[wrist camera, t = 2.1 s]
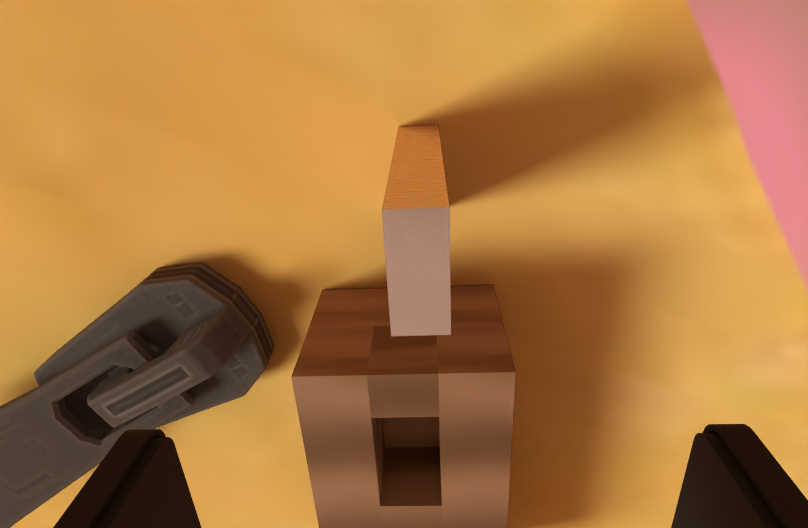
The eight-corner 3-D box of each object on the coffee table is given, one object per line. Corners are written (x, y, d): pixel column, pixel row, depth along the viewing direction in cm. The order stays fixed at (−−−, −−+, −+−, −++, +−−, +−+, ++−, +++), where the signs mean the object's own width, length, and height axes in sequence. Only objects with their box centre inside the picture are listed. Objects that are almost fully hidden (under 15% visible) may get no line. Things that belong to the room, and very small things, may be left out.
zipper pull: (-169, 487, 30) (147, 299, 23) (-71, 407, 36) (202, 240, 29) (-40, 573, 33) (268, 428, 27) (30, 487, 39) (296, 352, 33)
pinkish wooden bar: (398, 127, 26) (381, 209, 15) (437, 125, 26) (449, 207, 15) (402, 210, 28) (391, 336, 17) (439, 209, 28) (451, 334, 17)
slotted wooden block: (322, 289, 30) (291, 376, 23) (493, 284, 30) (515, 372, 23) (356, 537, 40) (342, 652, 33) (485, 536, 40) (499, 653, 32)
